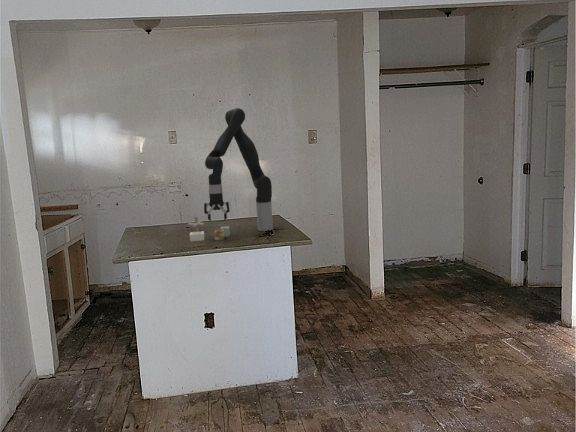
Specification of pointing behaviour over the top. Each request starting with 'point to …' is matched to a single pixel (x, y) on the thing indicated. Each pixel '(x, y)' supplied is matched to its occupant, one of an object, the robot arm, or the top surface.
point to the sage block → (226, 231)
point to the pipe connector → (196, 224)
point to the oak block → (219, 234)
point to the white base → (197, 236)
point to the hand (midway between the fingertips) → (217, 220)
